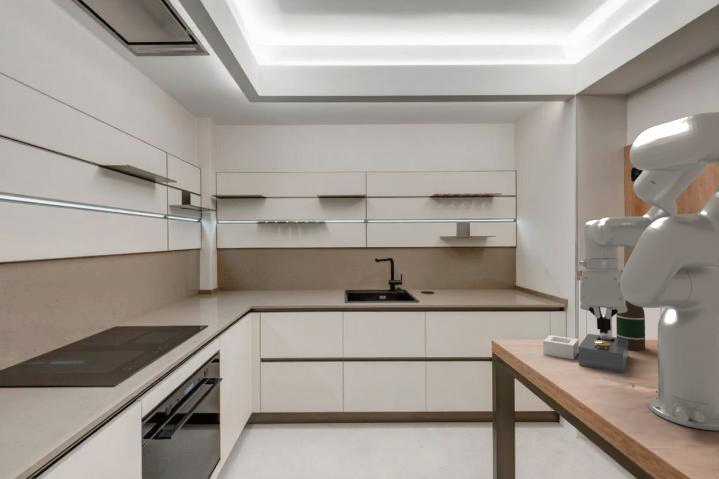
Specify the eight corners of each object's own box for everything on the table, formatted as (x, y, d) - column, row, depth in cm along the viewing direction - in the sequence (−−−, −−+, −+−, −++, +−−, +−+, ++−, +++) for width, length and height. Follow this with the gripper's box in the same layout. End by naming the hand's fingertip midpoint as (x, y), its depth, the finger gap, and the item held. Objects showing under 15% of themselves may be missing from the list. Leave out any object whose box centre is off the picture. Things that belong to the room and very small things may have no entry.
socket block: (623, 377, 95) (622, 353, 95) (578, 368, 102) (578, 347, 102) (628, 359, 108) (627, 338, 108) (588, 352, 115) (588, 333, 115)
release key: (609, 368, 99) (608, 344, 99) (593, 365, 101) (593, 342, 101) (610, 364, 102) (610, 341, 102) (595, 361, 104) (595, 339, 104)
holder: (573, 362, 106) (573, 345, 106) (543, 357, 112) (543, 340, 112) (578, 355, 113) (578, 339, 113) (549, 350, 118) (549, 335, 118)
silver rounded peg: (611, 358, 106) (611, 317, 106) (599, 356, 108) (598, 315, 108) (612, 355, 109) (612, 315, 109) (600, 353, 111) (600, 314, 111)
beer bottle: (622, 353, 114) (621, 275, 113) (611, 346, 121) (610, 273, 121) (651, 355, 112) (650, 276, 112) (638, 347, 119) (637, 273, 119)
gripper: (567, 265, 103) (570, 331, 102) (634, 266, 93) (637, 339, 93) (573, 264, 109) (575, 327, 108) (636, 264, 99) (639, 333, 99)
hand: (604, 332), depth 100 cm, fingers closed
